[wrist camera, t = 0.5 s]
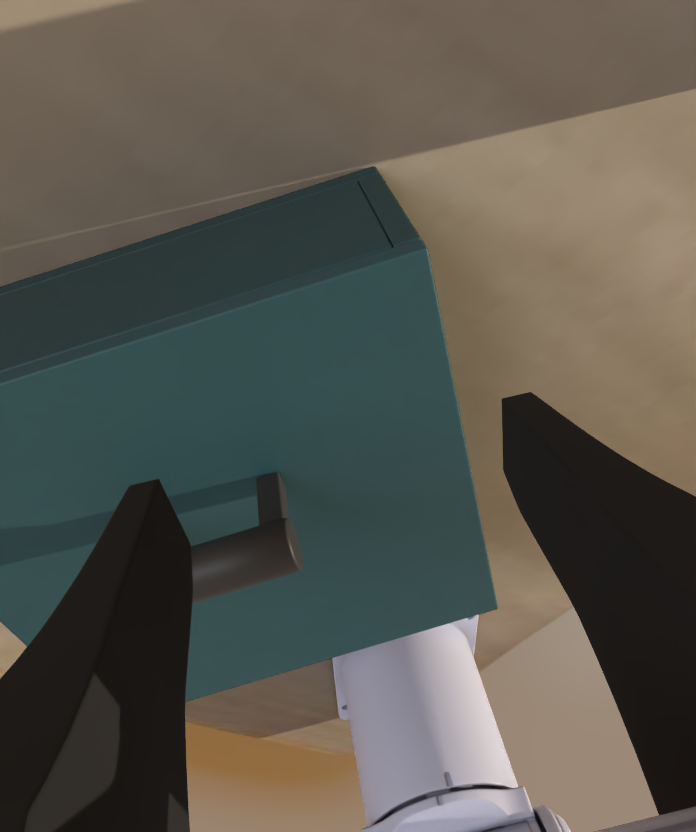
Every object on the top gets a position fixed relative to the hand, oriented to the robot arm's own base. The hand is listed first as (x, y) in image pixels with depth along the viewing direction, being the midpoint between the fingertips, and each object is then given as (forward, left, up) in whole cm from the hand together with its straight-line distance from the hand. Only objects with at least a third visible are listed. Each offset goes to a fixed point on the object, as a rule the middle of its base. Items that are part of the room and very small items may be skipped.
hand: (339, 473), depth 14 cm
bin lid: (-6, +3, -4) cm, 8 cm away
